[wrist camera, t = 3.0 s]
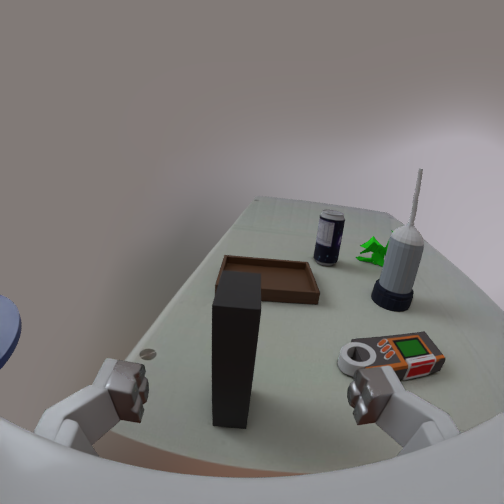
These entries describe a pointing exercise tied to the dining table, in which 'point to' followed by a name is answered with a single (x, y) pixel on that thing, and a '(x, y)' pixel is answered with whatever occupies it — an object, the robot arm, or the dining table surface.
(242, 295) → the tall dark grey prism
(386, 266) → the humidifier
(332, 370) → the dining table surface
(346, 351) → the electronic device
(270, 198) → the dining table surface
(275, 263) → the tray
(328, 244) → the beverage can
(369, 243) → the figurine
